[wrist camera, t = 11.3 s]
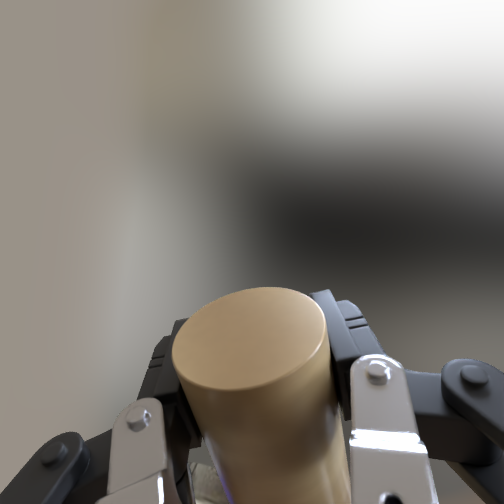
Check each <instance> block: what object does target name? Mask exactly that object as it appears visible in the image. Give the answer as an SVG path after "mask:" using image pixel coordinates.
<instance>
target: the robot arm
mask: <svg viewBox="0 0 504 504" xmlns="http://www.w3.org/2000/svg"><path fill="white" fill-rule="evenodd" d="M309 297H310V298H311V299H312V300H314V301H315V302H316V303H317V304H318V306H319V307H320V308H321V310H322V311H323V313H324V316H325V319H326V325H327V332H328V338H329V345H330V351H331V358H332V365H333V371H334V378H335V384H336V391H337V398H338V402H339V405H340V408H341V411H342V414H343V417H344V420H345V421H347V420H352V435H351V436H350V471H351V472H350V473H351V504H439V503H438V499H437V494H436V490H435V485H434V481H433V477H432V472H431V468H430V463H429V459H428V458H432V459H439V460H445V461H446V462H447V464H448V465H449V466H450V467H451V468H452V469H453V470H454V471H455V472H456V473H457V474H458V475H459V476H460V477H461V478H462V480H463V481H464V482H465V483H466V484H467V485H468V486H469V487H470V488H471V489H472V490H473V491H474V492H475V493H476V494H477V495H478V496H479V497H480V498H481V499H482V500H483V501H484V502H485V503H486V504H504V373H503V372H501V371H500V370H498V369H497V368H495V367H493V366H491V365H489V364H487V363H485V362H482V361H478V360H474V359H456V360H452V361H450V362H448V363H446V364H445V365H444V366H443V368H442V371H441V374H440V373H424V372H415V371H411V370H407V369H404V368H403V366H402V365H401V364H400V363H399V362H397V361H396V360H394V359H393V358H391V357H388V356H387V355H386V353H385V351H384V350H383V348H382V346H381V345H380V343H379V341H378V340H377V338H376V336H375V335H374V333H373V331H372V330H371V328H370V326H368V323H367V322H366V320H365V318H364V317H363V315H362V313H361V311H360V310H359V309H358V307H357V306H356V305H354V304H353V303H351V302H350V301H348V300H344V301H339V302H336V301H335V300H334V298H333V296H332V294H331V292H330V290H323V291H319V292H314V293H310V295H309ZM188 319H189V318H186V319H181V320H176V321H175V324H174V327H173V330H172V334H171V335H170V336H165V337H163V339H162V340H161V341H160V342H159V343H158V344H157V346H156V347H155V349H154V352H153V355H152V360H151V361H150V364H149V366H148V367H149V369H147V372H146V375H145V378H144V380H143V383H142V386H141V389H140V392H139V395H138V398H137V400H136V401H135V402H133V403H131V404H130V405H128V406H127V407H126V408H125V409H123V410H122V412H121V413H120V414H119V415H118V416H117V418H116V420H115V422H114V424H113V428H112V429H110V430H108V431H106V432H104V433H102V434H100V435H98V436H96V437H94V438H91V439H89V440H87V441H85V442H84V440H83V439H82V437H81V436H80V435H79V434H78V433H76V432H66V433H63V434H60V435H58V436H56V437H54V438H52V439H51V440H50V441H48V442H47V443H45V444H44V445H43V446H42V447H41V448H40V449H39V450H38V451H37V452H36V453H35V454H34V455H33V456H32V458H31V459H30V460H29V461H28V462H27V463H26V464H25V466H24V467H23V468H22V469H21V470H20V472H19V473H18V474H17V475H16V476H15V477H14V479H13V480H12V481H11V482H10V483H9V485H8V486H7V487H6V488H5V489H4V490H3V492H2V493H1V494H0V504H196V502H195V495H194V489H193V482H192V476H191V470H190V466H189V464H188V455H189V449H192V448H197V447H201V442H202V435H201V432H200V430H199V427H198V425H197V422H196V420H195V417H194V415H193V412H192V410H191V407H190V405H189V403H188V400H187V398H186V395H185V393H184V390H183V388H182V385H181V383H180V380H179V378H178V375H177V373H176V370H175V368H174V366H173V362H172V346H173V342H174V339H175V337H176V335H177V333H178V331H179V330H180V328H181V327H182V326H183V324H184V323H185V322H186V321H187V320H188Z"/></svg>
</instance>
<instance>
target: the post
mask: <svg viewBox="0 0 504 504" xmlns="http://www.w3.org/2000/svg"><path fill="white" fill-rule="evenodd" d="M172 362H173V366H174V368H175V370H176V373H177V375H178V378H179V380H180V383H181V385H182V388H183V390H184V393H185V395H186V398H187V400H188V403H189V405H190V407H191V410H192V412H193V415H194V417H195V420H196V422H197V425H198V427H199V430H200V432H201V435H202V437H203V439H204V442H205V444H206V447H207V449H208V452H209V454H210V457H211V459H212V462H213V464H214V467H215V469H216V472H217V474H218V477H219V479H220V481H221V484H222V486H223V489H224V491H225V494H226V496H227V499H228V501H229V504H351V484H350V477H349V470H348V464H347V458H346V451H345V444H344V437H343V431H342V425H341V417H340V411H339V404H338V398H337V391H336V384H335V378H334V371H333V365H332V358H331V351H330V345H329V338H328V332H327V325H326V319H325V316H324V313H323V311H322V310H321V308H320V307H319V306H318V304H317V303H316V302H315V301H314V300H312V299H311V298H310V297H308V296H306V295H304V294H302V293H300V292H297V291H294V290H290V289H286V288H278V287H261V288H253V289H247V290H243V291H238V292H235V293H232V294H229V295H226V296H224V297H221V298H219V299H217V300H215V301H213V302H211V303H209V304H207V305H206V306H204V307H203V308H201V309H200V310H198V311H197V312H196V313H194V314H193V315H192V316H191V317H190V318H189V319H188V320H187V321H186V322H185V323H184V324H183V326H182V327H181V328H180V330H179V331H178V333H177V335H176V337H175V339H174V342H173V346H172Z"/></svg>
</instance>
